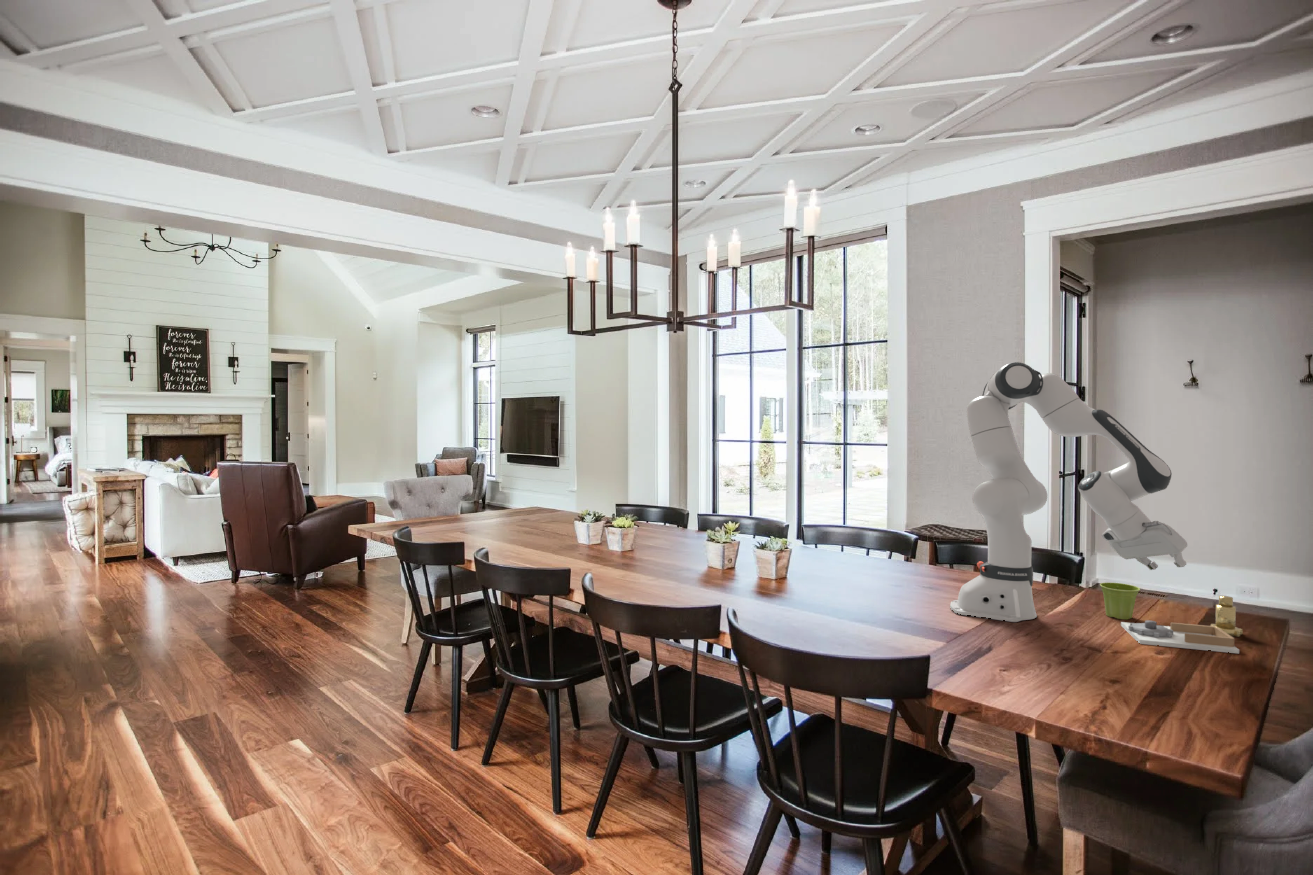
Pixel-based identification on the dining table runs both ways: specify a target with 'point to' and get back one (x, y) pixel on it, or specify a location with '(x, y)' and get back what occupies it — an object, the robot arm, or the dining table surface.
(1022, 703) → the dining table surface
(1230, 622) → the brass gear shaft
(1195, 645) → the gear board
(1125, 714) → the dining table surface
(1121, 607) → the plant pot
